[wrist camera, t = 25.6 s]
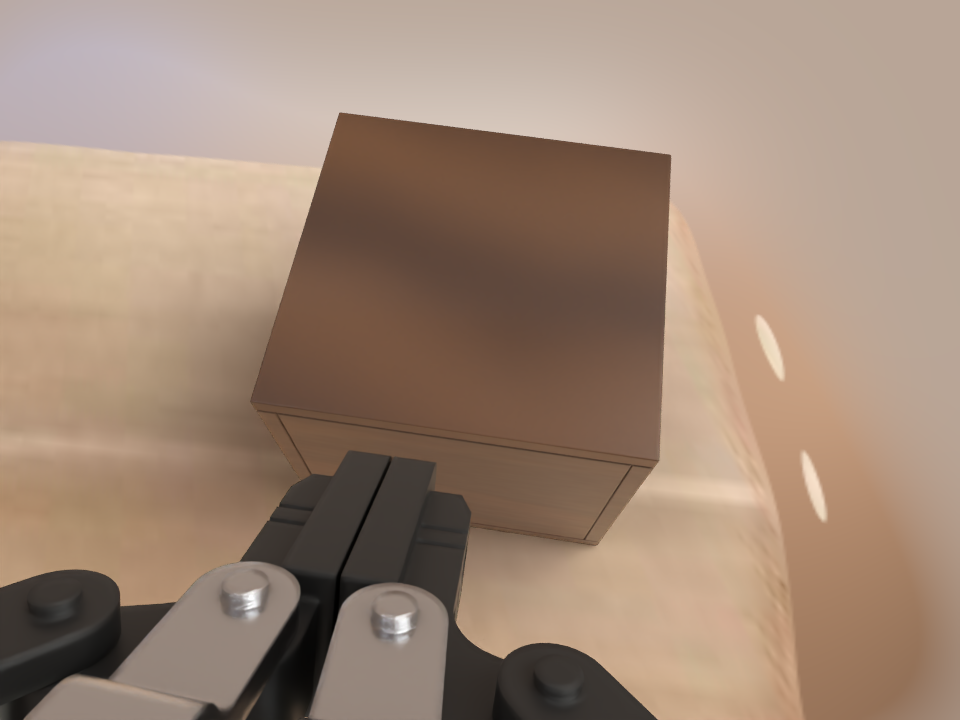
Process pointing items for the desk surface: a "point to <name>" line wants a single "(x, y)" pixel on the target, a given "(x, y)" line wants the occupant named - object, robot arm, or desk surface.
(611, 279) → the lid
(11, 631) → the robot arm
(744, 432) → the desk surface
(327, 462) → the chest
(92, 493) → the desk surface
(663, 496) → the desk surface
